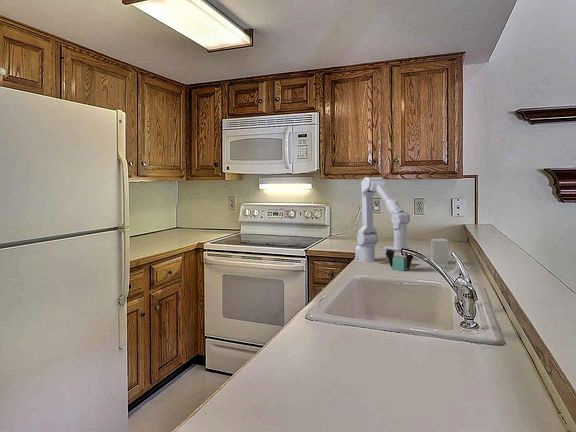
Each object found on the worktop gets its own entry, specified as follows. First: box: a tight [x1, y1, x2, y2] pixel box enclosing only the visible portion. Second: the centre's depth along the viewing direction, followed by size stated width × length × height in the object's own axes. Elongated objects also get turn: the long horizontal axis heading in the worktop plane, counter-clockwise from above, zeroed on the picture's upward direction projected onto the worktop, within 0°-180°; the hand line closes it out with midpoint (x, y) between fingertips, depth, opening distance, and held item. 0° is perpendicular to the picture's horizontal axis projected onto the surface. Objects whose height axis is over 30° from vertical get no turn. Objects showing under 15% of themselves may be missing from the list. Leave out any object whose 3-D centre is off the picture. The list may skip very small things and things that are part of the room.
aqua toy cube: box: [391, 255, 408, 272], centre depth 182 cm, size 5×5×7 cm
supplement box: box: [429, 238, 449, 265], centre depth 195 cm, size 7×7×13 cm
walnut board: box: [377, 259, 420, 269], centre depth 194 cm, size 18×9×1 cm, turn 55°
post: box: [384, 252, 390, 263], centre depth 197 cm, size 3×3×5 cm
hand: (399, 267), depth 182 cm, fingers open, 7 cm apart
